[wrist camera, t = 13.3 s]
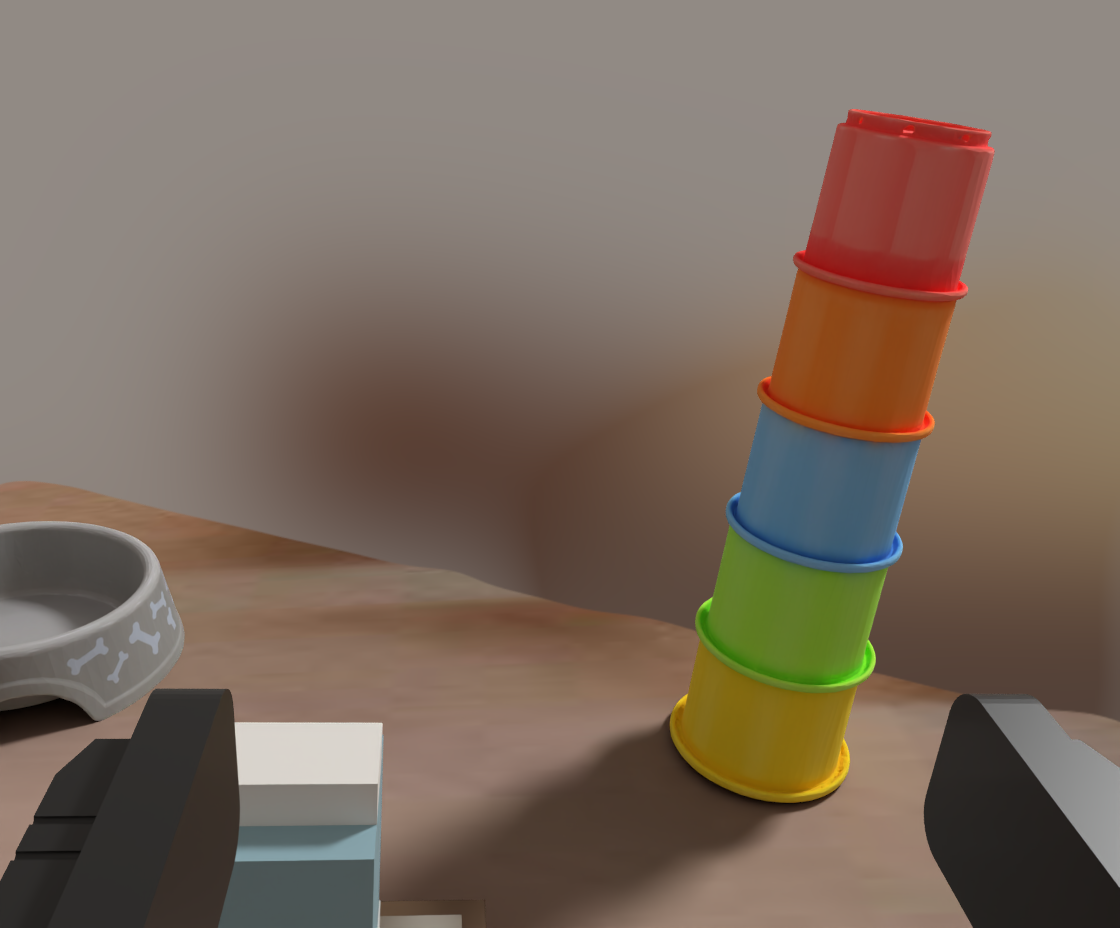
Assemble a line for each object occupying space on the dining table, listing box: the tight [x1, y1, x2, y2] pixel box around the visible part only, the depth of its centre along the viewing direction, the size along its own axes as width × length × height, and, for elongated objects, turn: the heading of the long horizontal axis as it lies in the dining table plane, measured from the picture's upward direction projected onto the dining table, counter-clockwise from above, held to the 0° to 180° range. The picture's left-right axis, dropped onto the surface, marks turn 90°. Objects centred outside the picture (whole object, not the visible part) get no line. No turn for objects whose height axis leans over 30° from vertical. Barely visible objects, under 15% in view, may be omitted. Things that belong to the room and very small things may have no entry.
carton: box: [218, 722, 383, 928], centre depth 33 cm, size 6×6×13 cm
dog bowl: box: [0, 521, 184, 721], centre depth 60 cm, size 17×18×5 cm
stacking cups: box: [670, 109, 995, 803], centre depth 52 cm, size 10×10×35 cm
